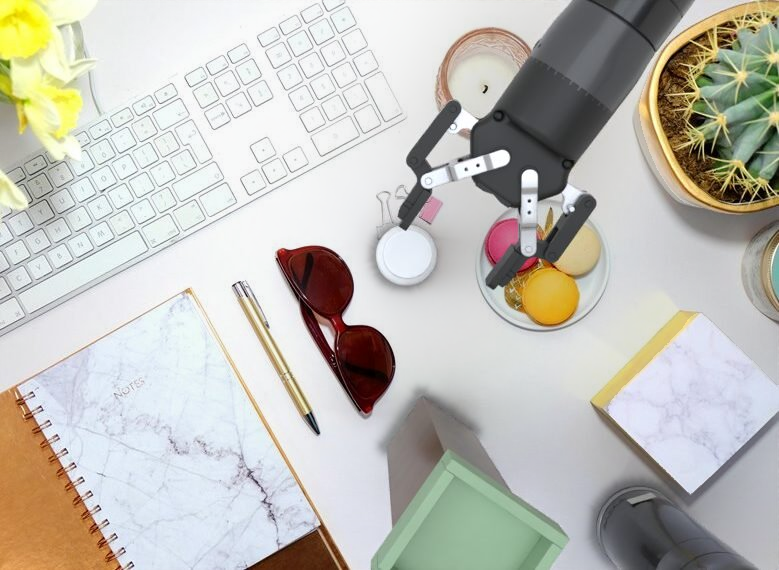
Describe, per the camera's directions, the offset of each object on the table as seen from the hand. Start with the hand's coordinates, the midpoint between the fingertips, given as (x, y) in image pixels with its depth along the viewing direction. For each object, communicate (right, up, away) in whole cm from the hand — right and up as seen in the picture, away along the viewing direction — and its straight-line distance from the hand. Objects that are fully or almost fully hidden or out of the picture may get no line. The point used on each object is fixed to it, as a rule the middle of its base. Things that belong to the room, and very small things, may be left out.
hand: (446, 256), depth 53 cm
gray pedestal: (0, -20, +20) cm, 28 cm away
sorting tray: (+1, -20, -8) cm, 22 cm away
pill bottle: (-3, +1, +20) cm, 20 cm away
